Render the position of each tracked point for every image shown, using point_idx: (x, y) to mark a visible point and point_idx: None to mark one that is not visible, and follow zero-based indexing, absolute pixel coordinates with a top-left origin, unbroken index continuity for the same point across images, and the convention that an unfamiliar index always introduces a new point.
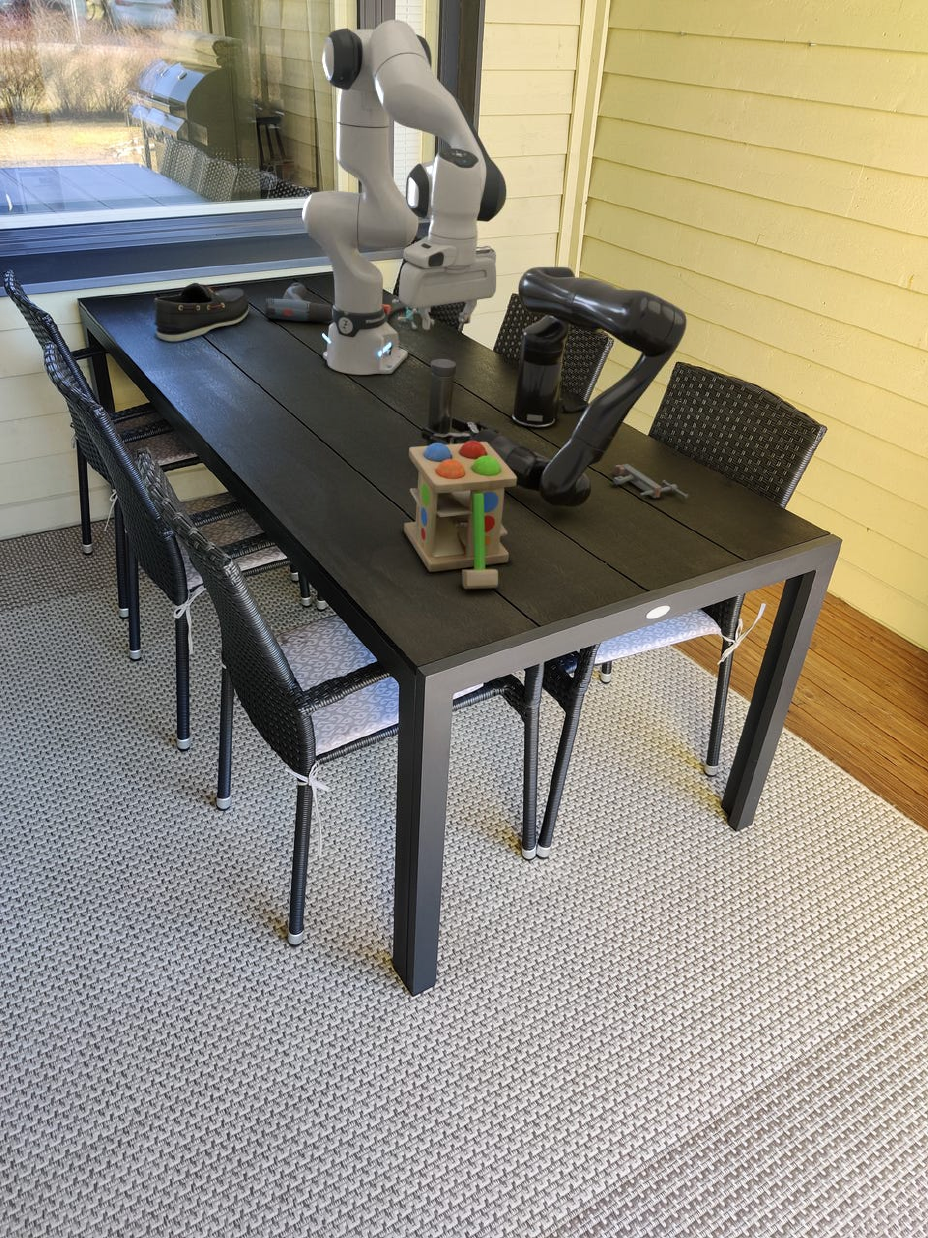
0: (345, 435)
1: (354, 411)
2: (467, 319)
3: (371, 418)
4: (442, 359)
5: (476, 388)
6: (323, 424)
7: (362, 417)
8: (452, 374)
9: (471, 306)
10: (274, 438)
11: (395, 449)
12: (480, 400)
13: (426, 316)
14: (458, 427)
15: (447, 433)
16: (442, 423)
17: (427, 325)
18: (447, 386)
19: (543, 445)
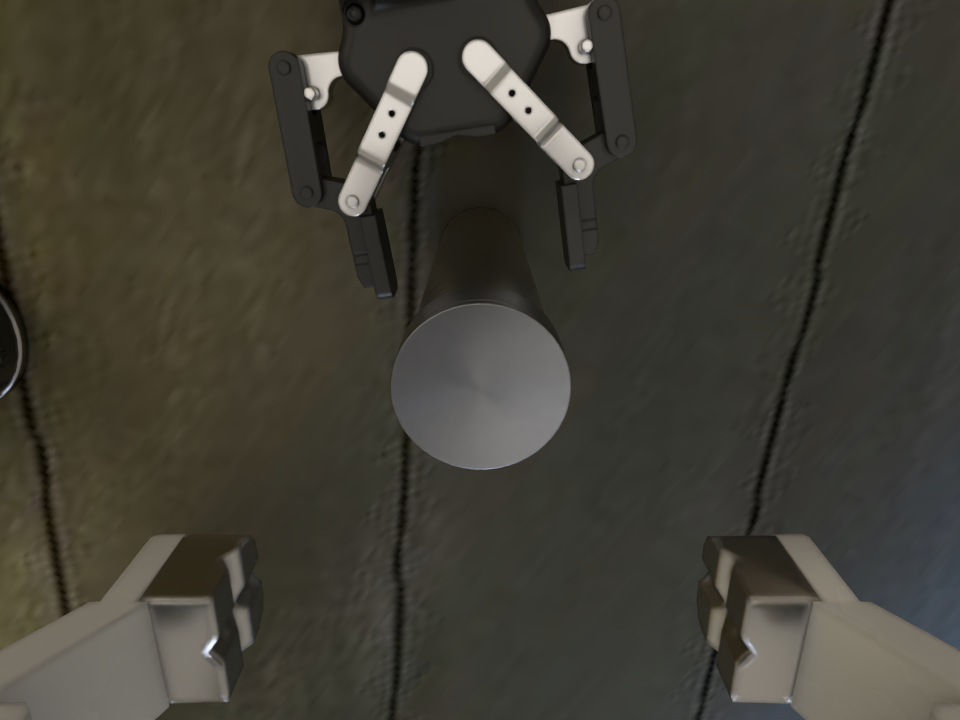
0: (663, 513)
1: (523, 638)
2: (182, 558)
3: (506, 579)
4: (442, 449)
5: (28, 626)
6: (670, 602)
7: (528, 596)
8: (461, 288)
9: (21, 702)
10: (864, 583)
11: (585, 356)
12: (64, 547)
13: (955, 648)
14: (387, 249)
15: (542, 135)
16: (500, 235)
17: (826, 567)
18: (490, 276)
19: (17, 116)
